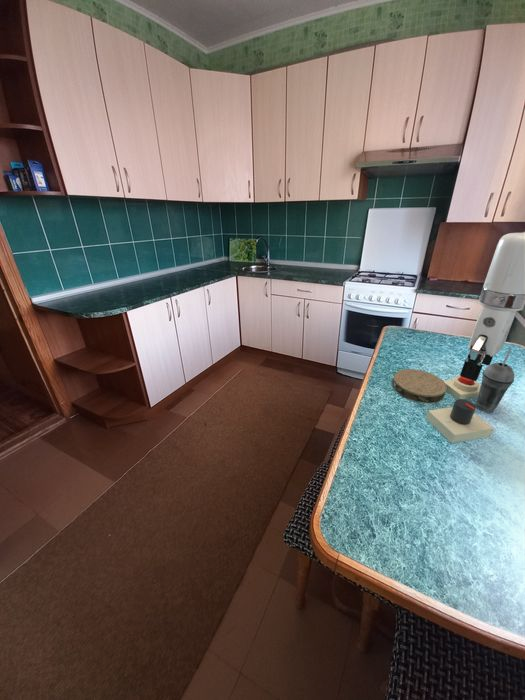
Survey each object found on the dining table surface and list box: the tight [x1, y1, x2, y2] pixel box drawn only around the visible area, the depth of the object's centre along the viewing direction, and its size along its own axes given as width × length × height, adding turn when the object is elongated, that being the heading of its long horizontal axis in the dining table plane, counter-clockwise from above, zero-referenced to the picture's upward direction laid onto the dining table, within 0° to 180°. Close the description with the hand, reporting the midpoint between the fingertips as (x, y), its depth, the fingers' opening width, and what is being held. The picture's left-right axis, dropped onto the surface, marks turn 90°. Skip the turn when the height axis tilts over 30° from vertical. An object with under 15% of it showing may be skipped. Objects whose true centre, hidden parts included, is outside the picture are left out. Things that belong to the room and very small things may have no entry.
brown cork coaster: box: [391, 368, 447, 404], centre depth 97 cm, size 16×16×3 cm
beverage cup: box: [475, 348, 515, 414], centre depth 84 cm, size 7×7×20 cm
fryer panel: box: [425, 406, 495, 444], centre depth 81 cm, size 12×10×3 cm
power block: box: [443, 375, 481, 400], centre depth 96 cm, size 10×8×4 cm
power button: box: [459, 375, 474, 385], centre depth 94 cm, size 4×4×2 cm
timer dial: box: [450, 398, 477, 425], centre depth 79 cm, size 5×5×5 cm
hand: (475, 370), depth 67 cm, fingers open, 9 cm apart
